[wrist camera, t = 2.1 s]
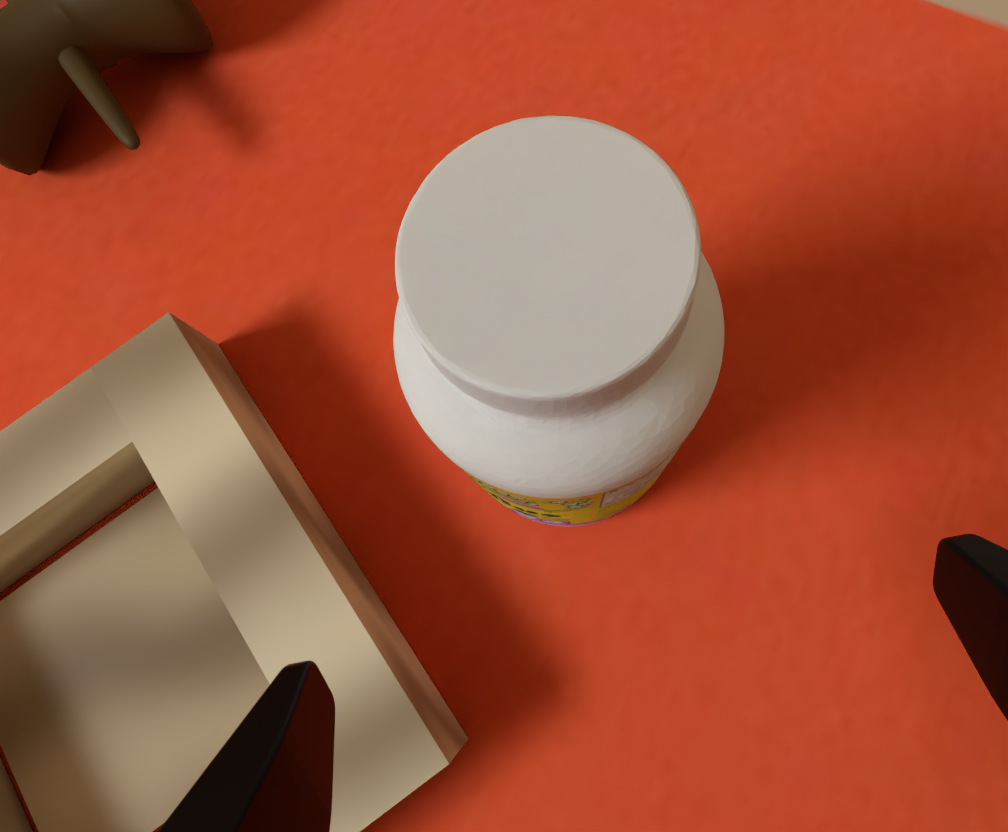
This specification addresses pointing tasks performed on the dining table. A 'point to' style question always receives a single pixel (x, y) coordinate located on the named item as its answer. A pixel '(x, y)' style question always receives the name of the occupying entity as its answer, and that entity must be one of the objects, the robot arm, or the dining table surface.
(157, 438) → the birch well block
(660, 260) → the supplement bottle
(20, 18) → the kendama
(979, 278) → the dining table surface
